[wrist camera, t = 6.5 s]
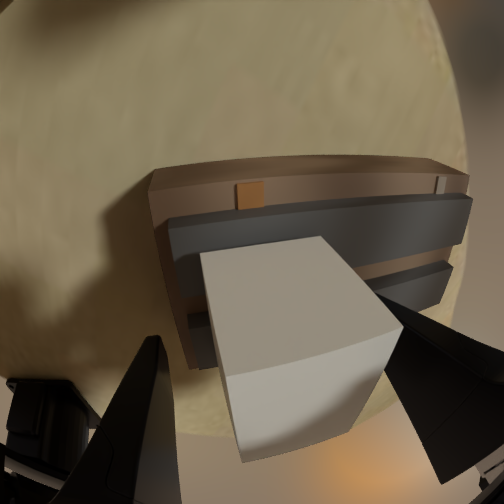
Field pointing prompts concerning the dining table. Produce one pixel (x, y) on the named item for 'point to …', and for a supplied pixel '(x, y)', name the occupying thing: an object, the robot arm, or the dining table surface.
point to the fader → (294, 342)
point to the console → (308, 224)
